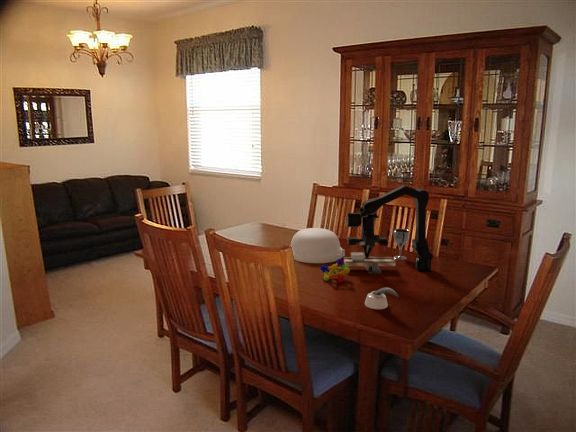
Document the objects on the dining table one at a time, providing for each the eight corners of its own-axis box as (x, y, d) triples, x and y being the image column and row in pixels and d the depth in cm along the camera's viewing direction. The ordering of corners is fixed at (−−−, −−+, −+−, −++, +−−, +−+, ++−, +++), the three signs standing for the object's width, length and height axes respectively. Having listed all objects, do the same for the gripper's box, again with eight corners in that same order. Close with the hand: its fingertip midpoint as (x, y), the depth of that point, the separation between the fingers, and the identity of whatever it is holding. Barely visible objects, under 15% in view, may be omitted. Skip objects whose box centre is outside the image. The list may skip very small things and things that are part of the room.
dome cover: (345, 248, 260) (346, 224, 257) (343, 265, 231) (344, 238, 228) (290, 246, 265) (290, 222, 262) (281, 261, 236) (281, 235, 233)
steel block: (362, 259, 224) (363, 252, 224) (364, 262, 220) (364, 255, 219) (350, 259, 224) (350, 252, 224) (352, 262, 220) (352, 255, 219)
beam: (392, 262, 226) (392, 257, 225) (395, 267, 219) (395, 261, 218) (343, 263, 226) (343, 257, 225) (345, 267, 219) (345, 261, 218)
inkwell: (377, 298, 187) (379, 275, 185) (408, 315, 172) (410, 290, 170) (359, 303, 183) (360, 279, 181) (389, 320, 168) (390, 294, 166)
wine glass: (391, 259, 240) (392, 231, 237) (393, 255, 248) (395, 228, 245) (406, 260, 238) (408, 232, 234) (408, 256, 245) (410, 229, 242)
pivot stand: (376, 266, 228) (377, 255, 227) (381, 273, 218) (381, 262, 216) (364, 266, 228) (365, 255, 227) (368, 273, 218) (369, 262, 216)
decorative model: (323, 277, 200) (317, 259, 213) (327, 293, 204) (321, 274, 218) (352, 270, 200) (344, 252, 213) (355, 286, 204) (347, 267, 217)
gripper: (350, 230, 211) (349, 263, 214) (391, 230, 211) (389, 263, 214) (347, 225, 221) (346, 256, 225) (386, 225, 221) (384, 256, 225)
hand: (366, 258), depth 222 cm, fingers closed
